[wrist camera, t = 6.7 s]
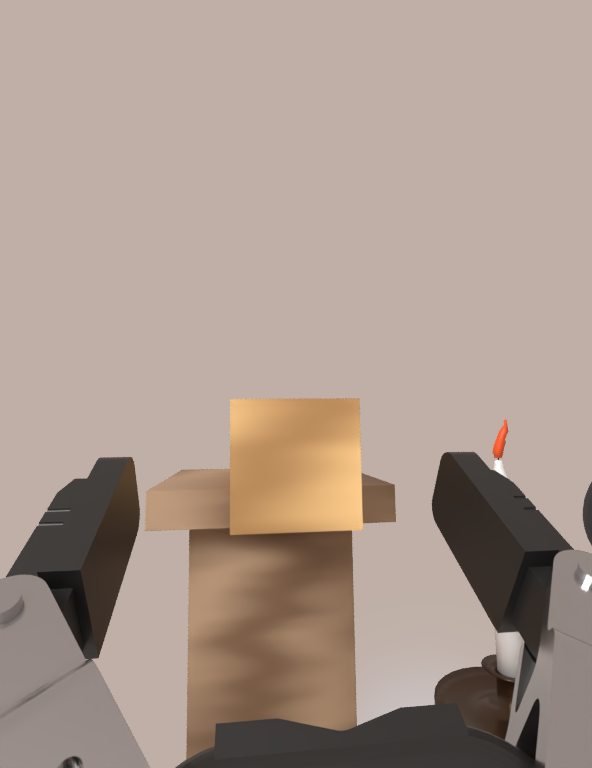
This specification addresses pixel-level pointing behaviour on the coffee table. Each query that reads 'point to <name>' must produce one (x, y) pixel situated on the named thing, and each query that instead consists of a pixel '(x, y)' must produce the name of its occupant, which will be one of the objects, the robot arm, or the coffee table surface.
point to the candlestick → (486, 668)
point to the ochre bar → (295, 466)
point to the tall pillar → (264, 610)
